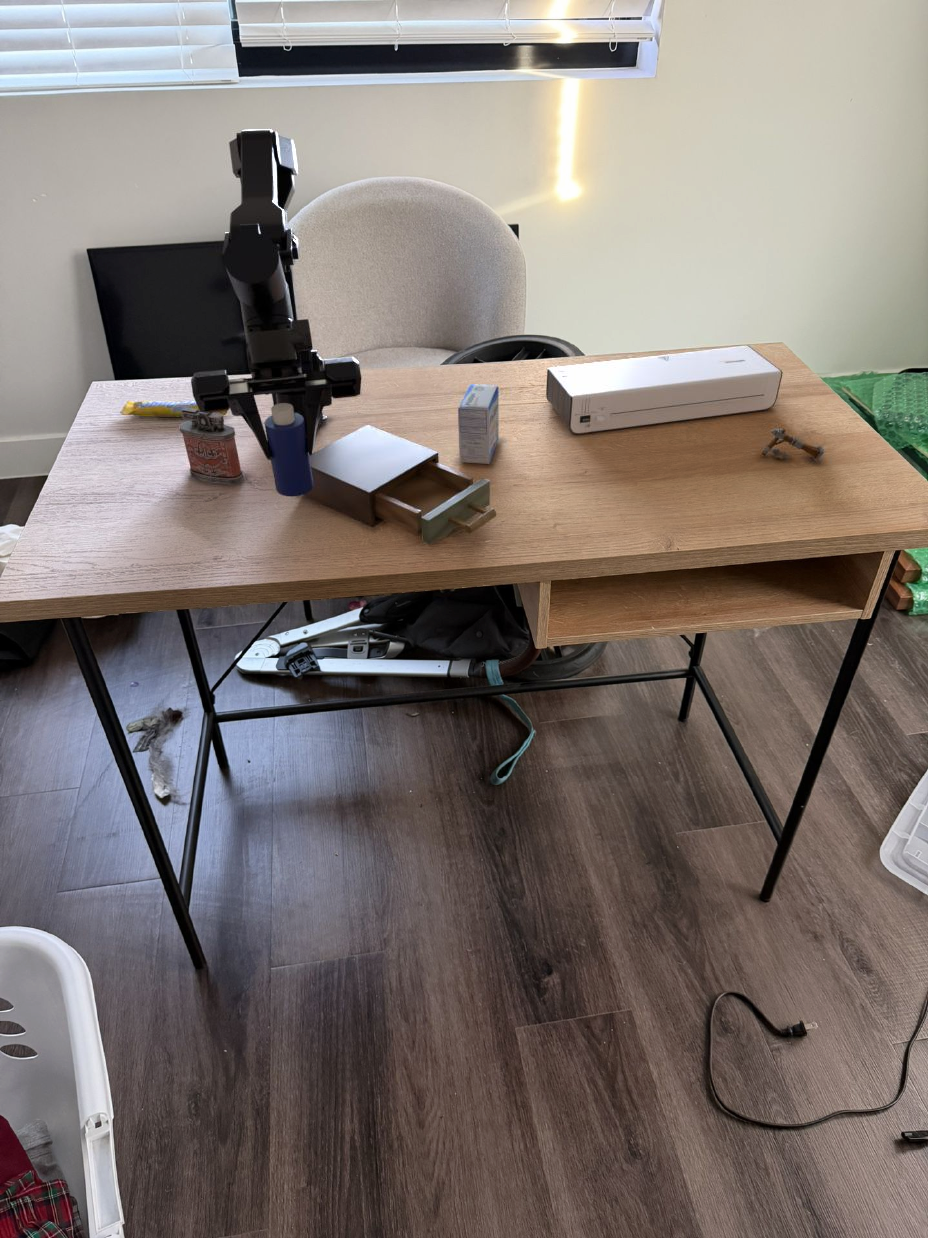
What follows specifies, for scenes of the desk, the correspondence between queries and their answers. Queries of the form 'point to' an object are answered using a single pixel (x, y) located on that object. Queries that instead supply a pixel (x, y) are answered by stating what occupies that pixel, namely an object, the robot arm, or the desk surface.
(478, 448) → the medicine box
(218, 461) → the lighter
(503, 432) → the desk surface
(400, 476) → the cabinet
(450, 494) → the drawer
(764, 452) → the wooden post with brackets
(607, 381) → the laminator
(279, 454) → the glue bottle
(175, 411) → the candy bar
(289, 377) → the robot arm
